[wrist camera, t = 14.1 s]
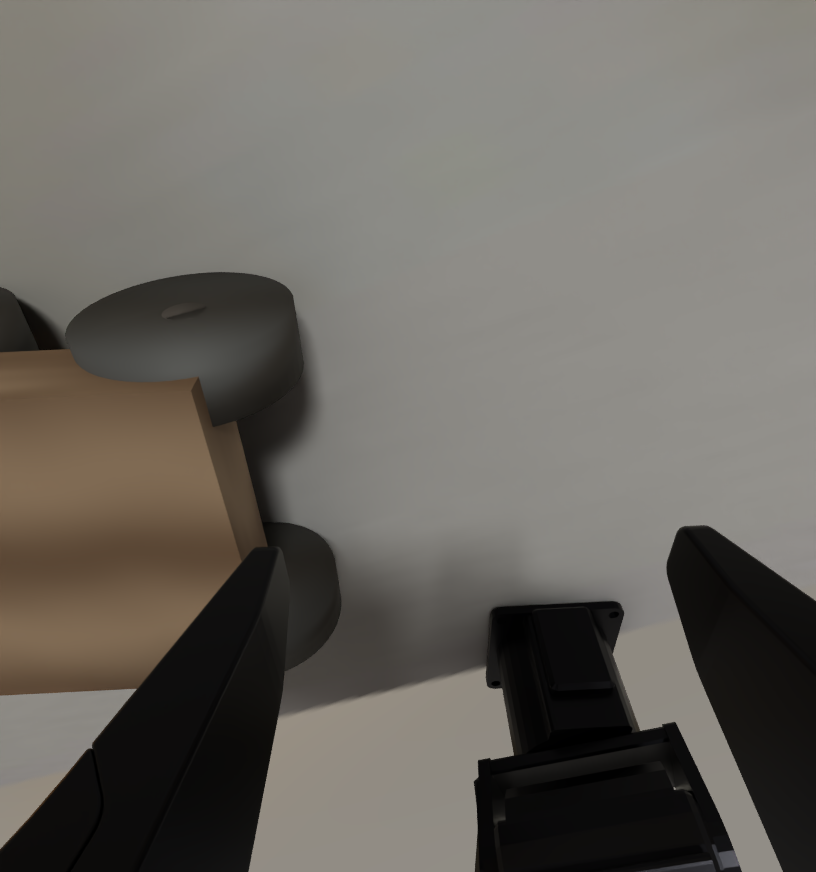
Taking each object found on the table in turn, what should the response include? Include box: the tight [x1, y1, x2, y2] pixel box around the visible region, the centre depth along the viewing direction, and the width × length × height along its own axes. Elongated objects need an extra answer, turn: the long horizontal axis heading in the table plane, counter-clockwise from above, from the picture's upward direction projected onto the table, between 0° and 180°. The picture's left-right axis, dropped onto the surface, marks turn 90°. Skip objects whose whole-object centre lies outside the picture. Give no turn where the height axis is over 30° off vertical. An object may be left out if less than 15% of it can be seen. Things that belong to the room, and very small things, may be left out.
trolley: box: [0, 272, 341, 695], centre depth 20 cm, size 13×14×6 cm
